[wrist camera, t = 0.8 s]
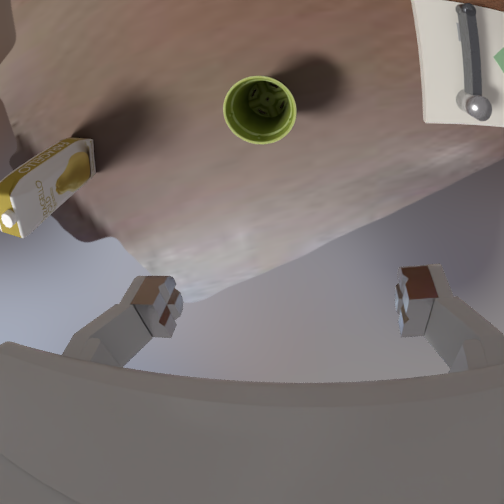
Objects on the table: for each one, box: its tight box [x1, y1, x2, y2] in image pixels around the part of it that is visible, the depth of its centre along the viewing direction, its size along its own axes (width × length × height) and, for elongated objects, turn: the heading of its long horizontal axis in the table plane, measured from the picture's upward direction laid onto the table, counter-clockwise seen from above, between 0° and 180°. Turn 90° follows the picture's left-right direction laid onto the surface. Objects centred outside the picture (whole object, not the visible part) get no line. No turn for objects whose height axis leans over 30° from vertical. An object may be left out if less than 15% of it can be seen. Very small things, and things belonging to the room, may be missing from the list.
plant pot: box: [223, 76, 297, 144], centre depth 42 cm, size 9×9×9 cm
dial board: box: [411, 0, 504, 127], centre depth 33 cm, size 20×18×2 cm
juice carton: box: [0, 138, 96, 238], centre depth 46 cm, size 9×8×24 cm
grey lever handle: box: [456, 3, 492, 121], centre depth 30 cm, size 17×4×6 cm, turn 11°
